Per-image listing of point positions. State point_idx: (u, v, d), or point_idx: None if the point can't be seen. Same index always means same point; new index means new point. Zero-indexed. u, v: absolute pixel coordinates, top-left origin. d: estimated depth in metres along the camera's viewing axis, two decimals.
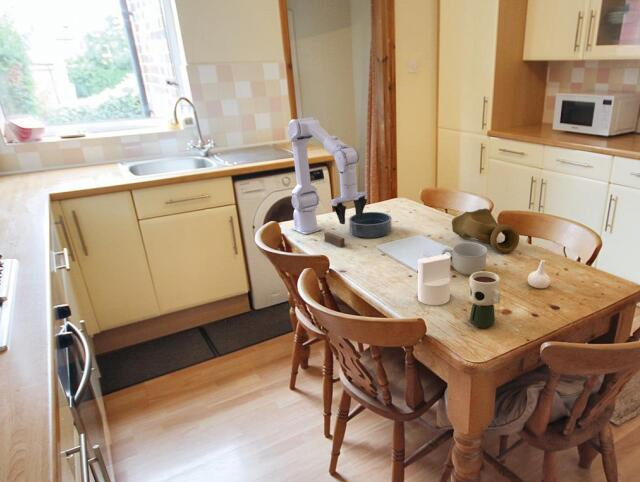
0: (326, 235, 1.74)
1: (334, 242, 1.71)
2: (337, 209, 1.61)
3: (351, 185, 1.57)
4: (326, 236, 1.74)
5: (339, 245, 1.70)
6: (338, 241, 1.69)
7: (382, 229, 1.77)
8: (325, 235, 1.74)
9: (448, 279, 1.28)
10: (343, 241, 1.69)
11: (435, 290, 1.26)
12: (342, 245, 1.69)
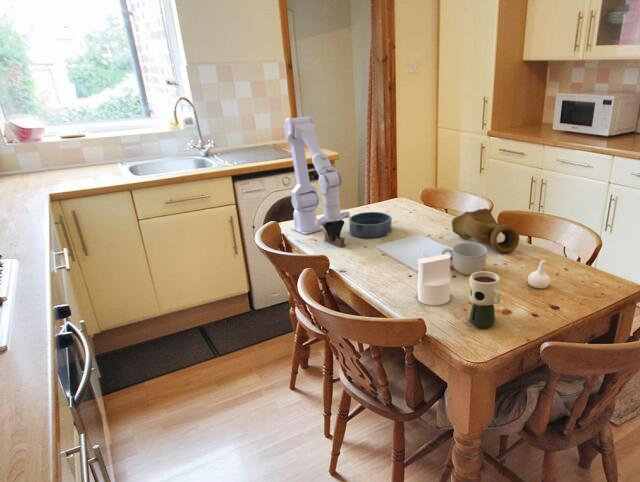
0: (326, 235, 1.74)
1: (334, 242, 1.71)
2: (327, 227, 1.70)
3: (334, 206, 1.65)
4: (326, 236, 1.74)
5: (339, 245, 1.70)
6: (338, 241, 1.69)
7: (382, 229, 1.77)
8: (325, 235, 1.74)
9: (448, 279, 1.28)
10: (343, 241, 1.69)
11: (435, 290, 1.26)
12: (342, 245, 1.69)
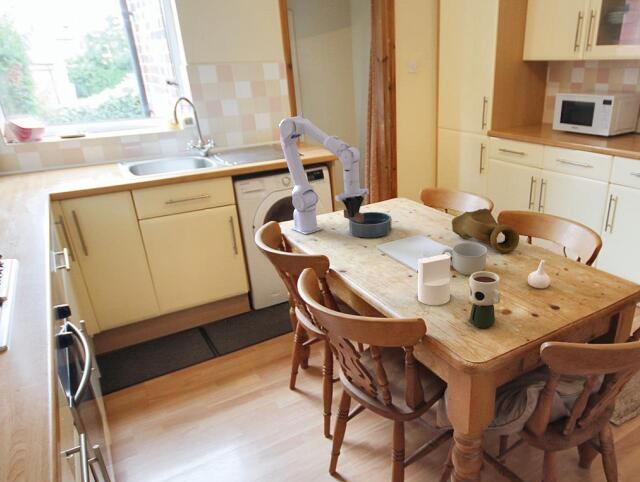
0: (345, 211, 1.77)
1: (353, 218, 1.75)
2: (346, 203, 1.73)
3: (354, 182, 1.68)
4: (345, 212, 1.77)
5: (358, 221, 1.73)
6: (358, 216, 1.72)
7: (382, 229, 1.77)
8: (344, 211, 1.78)
9: (448, 279, 1.28)
10: (362, 217, 1.72)
11: (435, 290, 1.26)
12: (361, 220, 1.72)
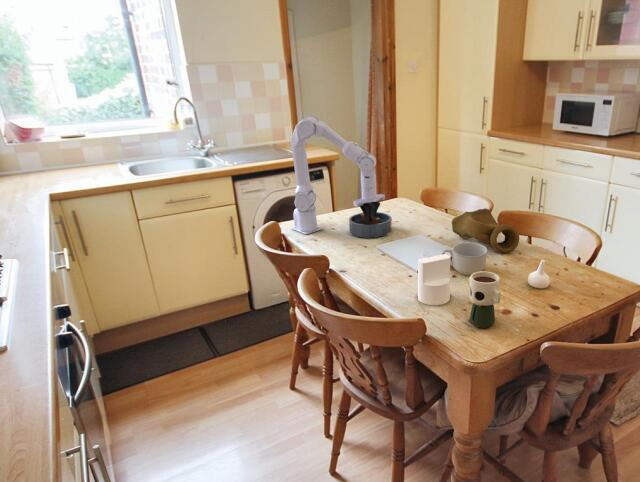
0: (362, 216, 1.84)
1: (370, 222, 1.81)
2: (364, 208, 1.80)
3: (371, 188, 1.75)
4: (362, 217, 1.84)
5: None
6: (374, 221, 1.79)
7: (382, 229, 1.77)
8: (361, 216, 1.84)
9: (448, 279, 1.28)
10: (379, 222, 1.79)
11: (435, 290, 1.26)
12: None
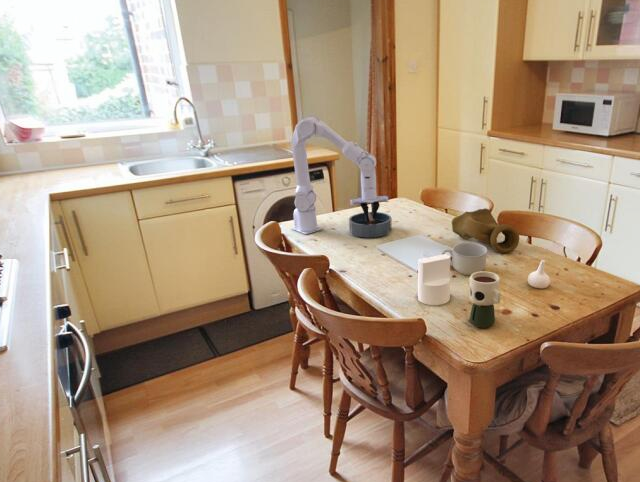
0: None
1: (368, 223, 1.81)
2: None
3: (368, 189, 1.75)
4: None
5: None
6: (370, 222, 1.79)
7: (382, 229, 1.77)
8: None
9: (448, 279, 1.28)
10: (373, 223, 1.78)
11: (435, 290, 1.26)
12: None
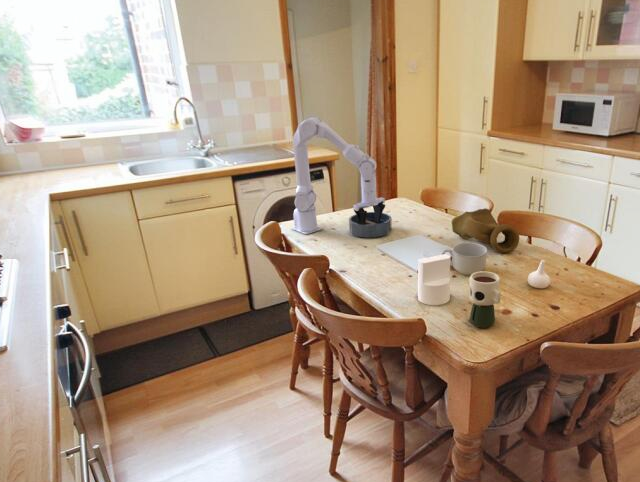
0: None
1: None
2: (358, 213, 1.79)
3: (371, 192, 1.75)
4: None
5: None
6: None
7: (382, 229, 1.77)
8: None
9: (448, 279, 1.28)
10: None
11: (435, 290, 1.26)
12: None
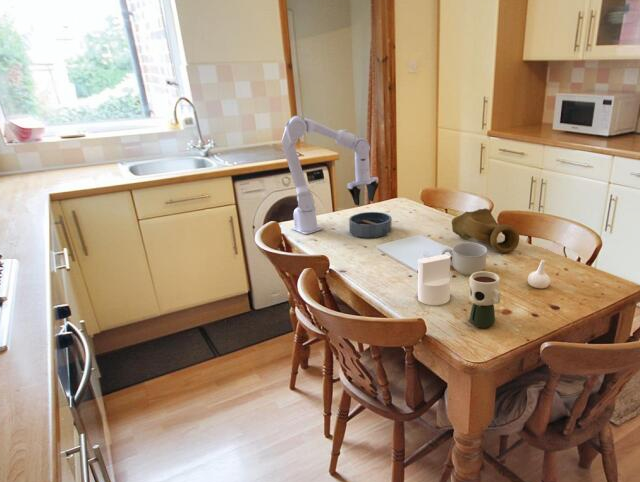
0: (363, 222, 1.85)
1: None
2: (352, 192, 1.84)
3: (365, 170, 1.81)
4: (362, 223, 1.85)
5: None
6: None
7: (382, 229, 1.77)
8: (361, 222, 1.85)
9: (448, 279, 1.28)
10: None
11: (435, 290, 1.26)
12: None
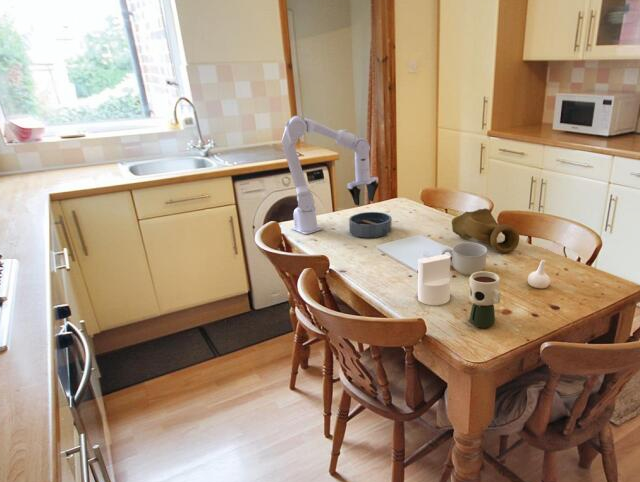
0: (363, 222, 1.85)
1: None
2: (352, 192, 1.84)
3: (365, 170, 1.81)
4: (362, 223, 1.85)
5: None
6: None
7: (382, 229, 1.77)
8: (361, 222, 1.85)
9: (448, 279, 1.28)
10: None
11: (435, 290, 1.26)
12: None
